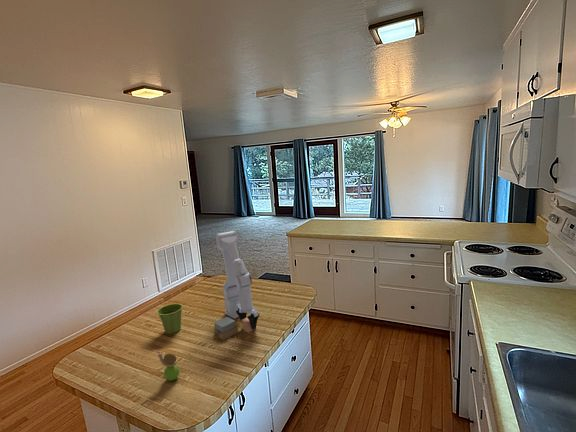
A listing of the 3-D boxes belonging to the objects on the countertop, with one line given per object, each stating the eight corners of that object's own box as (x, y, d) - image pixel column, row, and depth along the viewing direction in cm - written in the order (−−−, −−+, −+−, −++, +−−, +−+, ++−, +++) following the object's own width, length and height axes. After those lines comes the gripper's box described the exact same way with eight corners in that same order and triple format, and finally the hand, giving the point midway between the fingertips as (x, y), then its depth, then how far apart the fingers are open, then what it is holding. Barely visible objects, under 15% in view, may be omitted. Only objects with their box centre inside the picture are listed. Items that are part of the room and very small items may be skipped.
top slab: (215, 328, 142) (214, 322, 142) (227, 322, 147) (226, 316, 147) (223, 333, 137) (222, 327, 137) (236, 326, 142) (235, 320, 142)
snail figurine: (164, 375, 116) (159, 346, 114) (181, 373, 116) (177, 344, 114) (160, 385, 111) (154, 355, 109) (178, 383, 111) (173, 353, 109)
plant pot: (190, 328, 150) (187, 307, 148) (167, 339, 141) (163, 317, 139) (178, 321, 158) (175, 301, 156) (156, 332, 149) (152, 310, 148)
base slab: (214, 334, 143) (213, 328, 142) (228, 327, 148) (228, 321, 147) (223, 340, 137) (222, 334, 136) (238, 333, 142) (237, 327, 142)
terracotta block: (242, 329, 144) (241, 319, 143) (250, 325, 147) (249, 315, 146) (248, 332, 141) (247, 322, 140) (256, 328, 144) (254, 318, 143)
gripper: (229, 298, 144) (233, 324, 146) (248, 306, 134) (251, 334, 136) (242, 293, 149) (245, 318, 151) (260, 300, 138) (263, 328, 141)
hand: (249, 326), depth 144 cm, fingers open, 7 cm apart
